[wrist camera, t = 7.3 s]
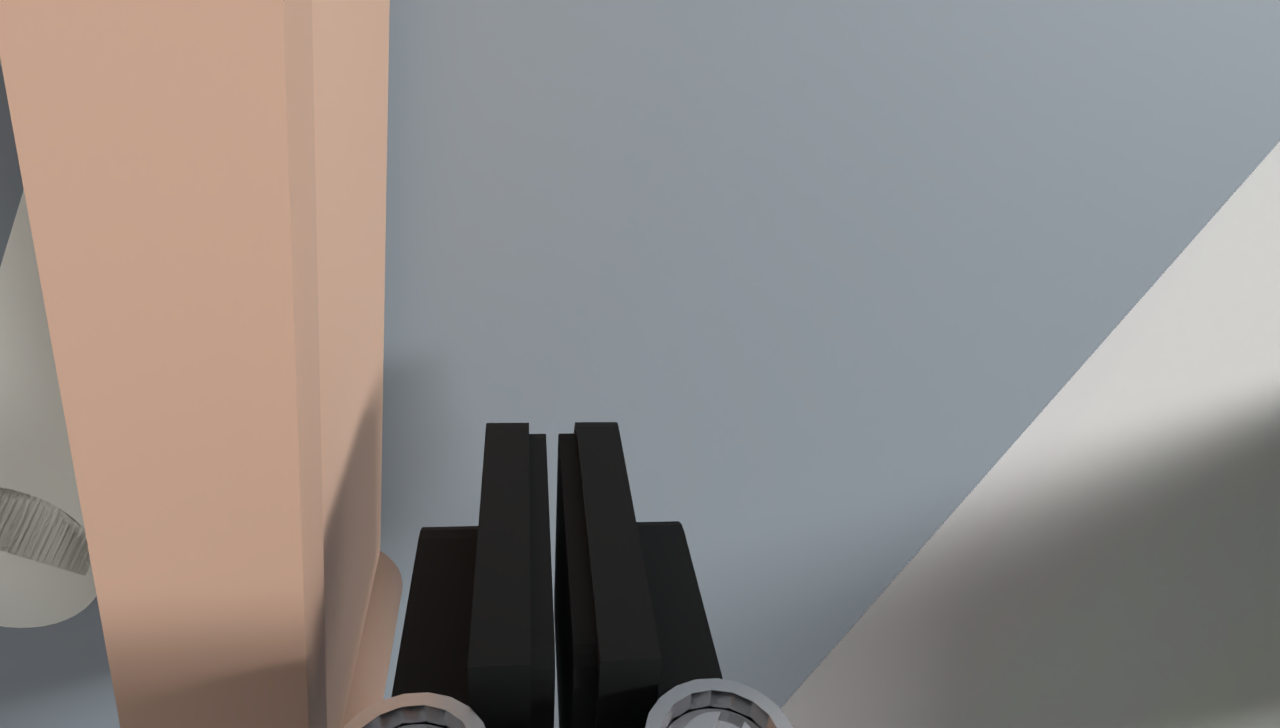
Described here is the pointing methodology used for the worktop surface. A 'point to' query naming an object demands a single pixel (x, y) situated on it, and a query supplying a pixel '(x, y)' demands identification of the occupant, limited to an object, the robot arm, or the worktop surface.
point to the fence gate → (218, 339)
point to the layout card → (719, 280)
